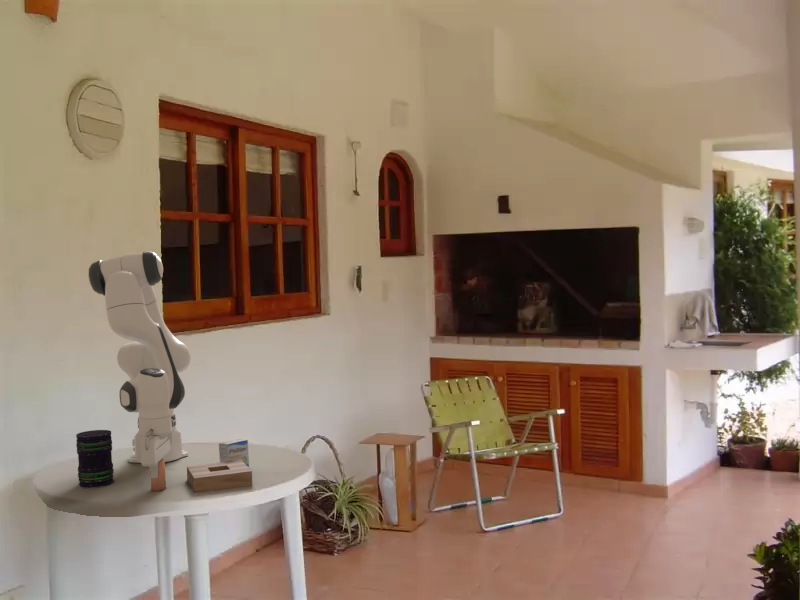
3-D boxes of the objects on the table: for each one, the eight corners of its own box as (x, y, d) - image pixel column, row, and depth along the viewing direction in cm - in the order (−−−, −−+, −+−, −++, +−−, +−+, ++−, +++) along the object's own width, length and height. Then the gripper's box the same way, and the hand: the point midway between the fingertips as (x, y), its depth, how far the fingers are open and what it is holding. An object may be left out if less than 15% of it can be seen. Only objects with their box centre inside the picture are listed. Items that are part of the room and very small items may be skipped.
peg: (150, 488, 239) (149, 460, 239) (165, 486, 241) (163, 458, 240) (151, 491, 235) (150, 463, 235) (166, 489, 237) (165, 461, 236)
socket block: (187, 479, 248) (186, 466, 248) (241, 472, 253) (241, 459, 253) (195, 492, 233) (194, 478, 233) (252, 485, 239) (251, 471, 238)
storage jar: (100, 477, 254) (98, 428, 253) (121, 481, 248) (118, 431, 248) (71, 485, 246) (68, 434, 245) (91, 489, 240) (89, 437, 239)
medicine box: (228, 472, 254) (227, 444, 254) (219, 470, 257) (218, 442, 257) (249, 467, 260) (248, 439, 260) (240, 465, 263) (239, 438, 263)
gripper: (157, 433, 227) (159, 484, 228) (174, 419, 247) (177, 465, 248) (133, 434, 227) (136, 485, 227) (153, 420, 247) (155, 466, 248)
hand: (157, 475), depth 238 cm, fingers closed on peg, 4 cm apart
